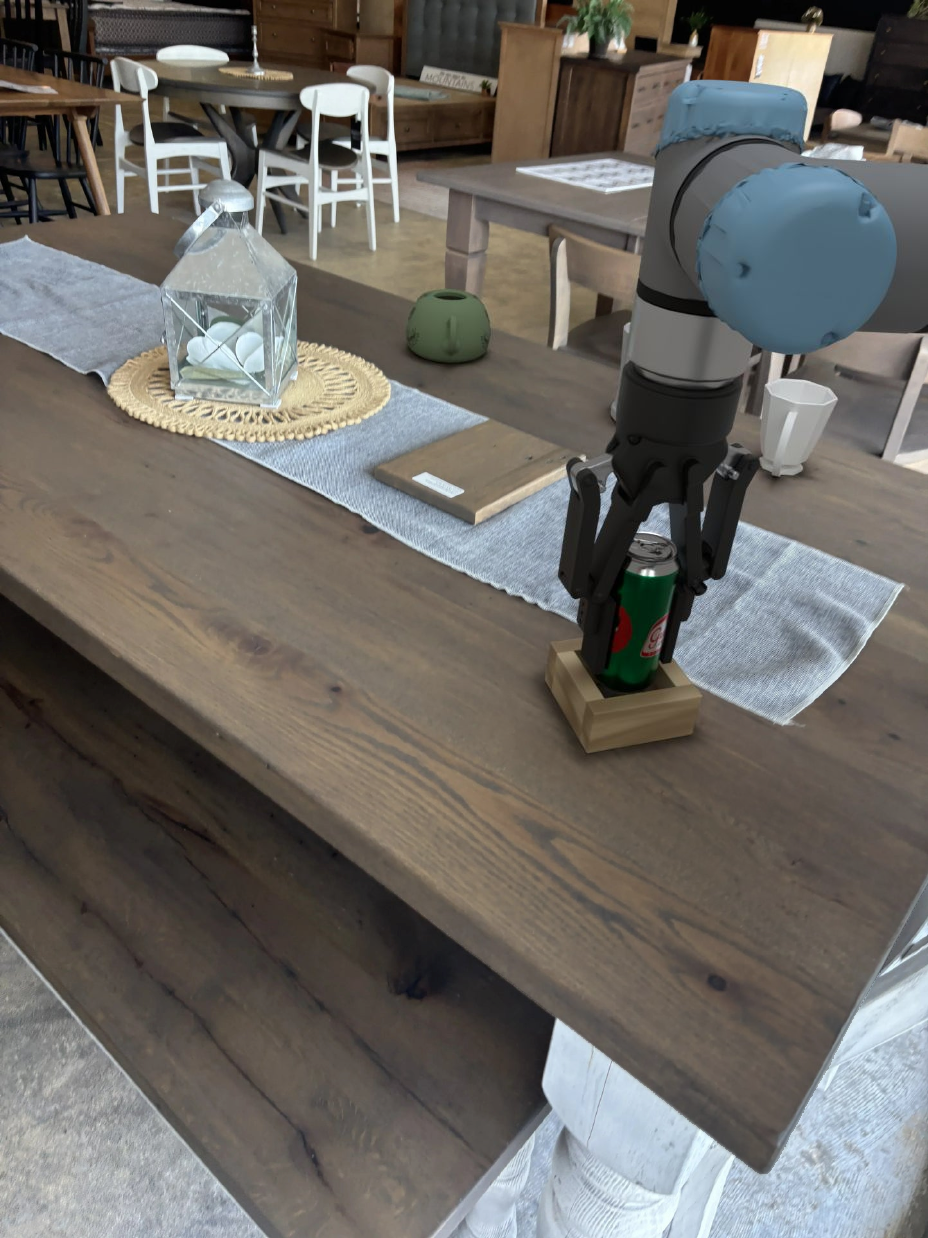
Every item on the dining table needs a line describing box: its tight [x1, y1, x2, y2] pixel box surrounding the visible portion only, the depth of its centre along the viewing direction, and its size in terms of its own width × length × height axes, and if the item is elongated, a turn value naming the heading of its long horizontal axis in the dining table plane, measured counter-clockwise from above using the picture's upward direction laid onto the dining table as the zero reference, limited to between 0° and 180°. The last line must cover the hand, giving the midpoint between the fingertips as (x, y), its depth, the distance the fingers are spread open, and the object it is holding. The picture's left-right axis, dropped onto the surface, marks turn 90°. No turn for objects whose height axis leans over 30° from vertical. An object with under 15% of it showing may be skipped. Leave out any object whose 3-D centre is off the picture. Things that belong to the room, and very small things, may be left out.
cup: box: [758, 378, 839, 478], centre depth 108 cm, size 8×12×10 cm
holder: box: [544, 637, 703, 754], centre depth 72 cm, size 9×9×4 cm
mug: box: [405, 288, 492, 364], centre depth 135 cm, size 16×13×9 cm
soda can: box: [592, 531, 681, 694], centre depth 68 cm, size 5×5×12 cm
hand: (625, 657), depth 70 cm, fingers closed on soda can, 5 cm apart
